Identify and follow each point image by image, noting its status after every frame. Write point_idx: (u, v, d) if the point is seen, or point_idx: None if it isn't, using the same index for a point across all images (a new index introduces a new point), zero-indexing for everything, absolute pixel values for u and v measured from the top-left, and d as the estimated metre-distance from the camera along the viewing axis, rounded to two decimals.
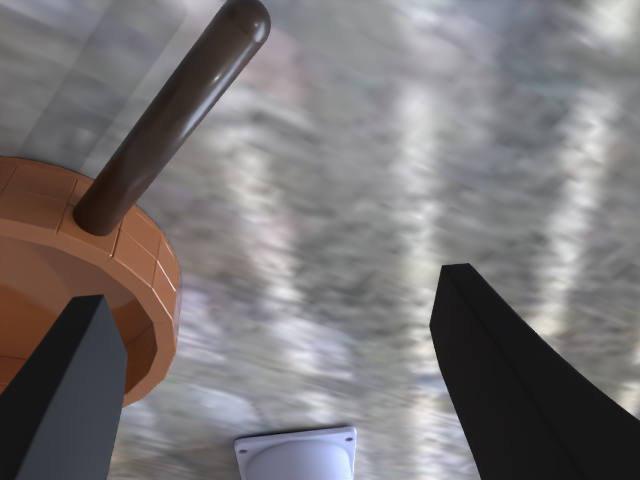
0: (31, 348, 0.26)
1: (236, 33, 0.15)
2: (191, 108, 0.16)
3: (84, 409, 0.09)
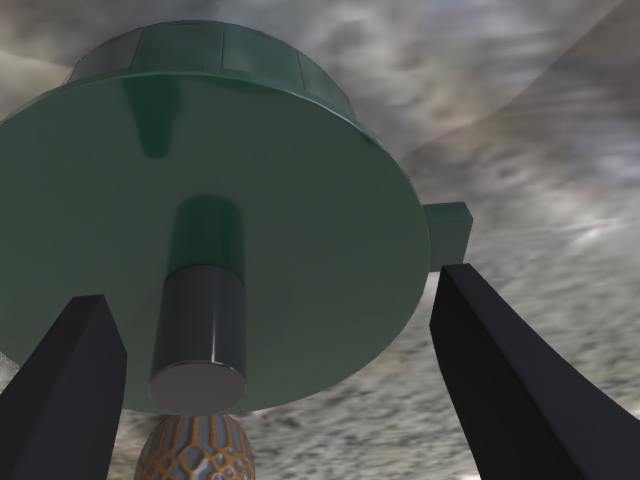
0: None
1: None
2: None
3: (84, 409, 0.09)
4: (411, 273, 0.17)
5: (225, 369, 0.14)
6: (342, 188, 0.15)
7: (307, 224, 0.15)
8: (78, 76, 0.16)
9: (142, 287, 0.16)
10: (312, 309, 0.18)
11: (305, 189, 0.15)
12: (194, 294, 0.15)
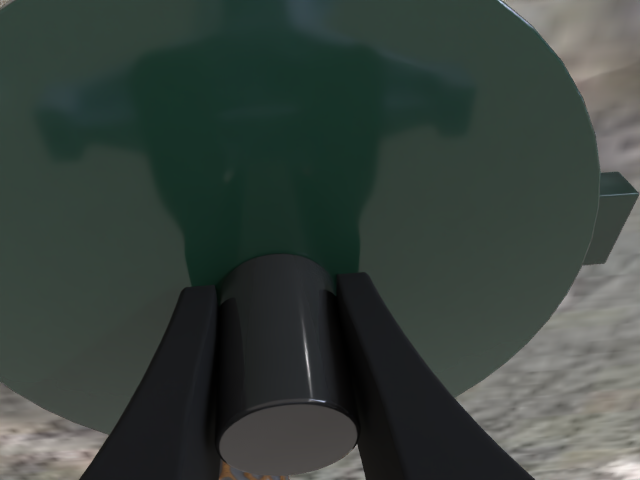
0: None
1: None
2: None
3: (209, 396, 0.10)
4: (559, 267, 0.13)
5: (337, 412, 0.09)
6: (497, 139, 0.10)
7: (437, 194, 0.11)
8: None
9: (192, 286, 0.12)
10: (418, 316, 0.13)
11: (445, 140, 0.10)
12: (276, 296, 0.10)
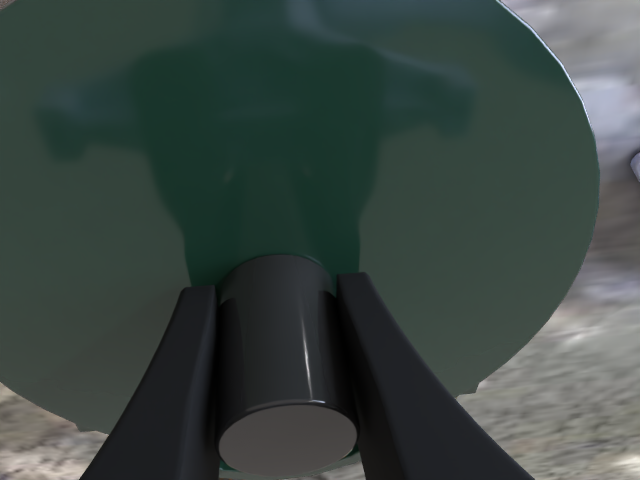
0: None
1: None
2: None
3: (209, 396, 0.10)
4: (559, 268, 0.13)
5: (336, 412, 0.09)
6: (497, 140, 0.10)
7: (437, 194, 0.11)
8: None
9: None
10: (417, 317, 0.13)
11: (444, 141, 0.10)
12: (275, 296, 0.10)
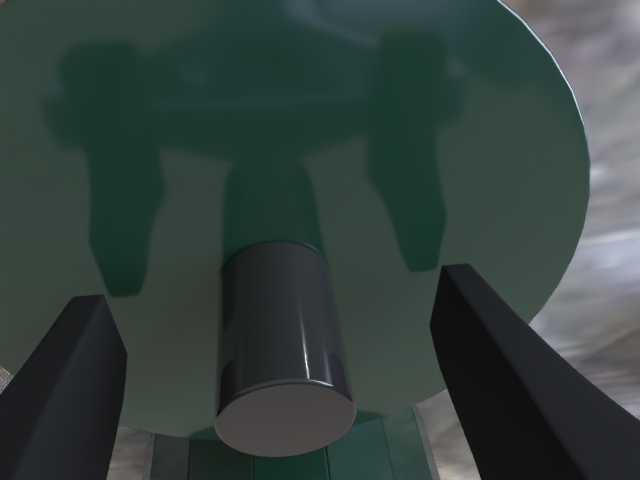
0: None
1: None
2: None
3: (84, 409, 0.09)
4: (551, 256, 0.13)
5: (333, 392, 0.09)
6: (489, 129, 0.10)
7: (430, 183, 0.11)
8: None
9: (192, 274, 0.12)
10: (413, 305, 0.13)
11: (438, 130, 0.10)
12: (273, 282, 0.11)
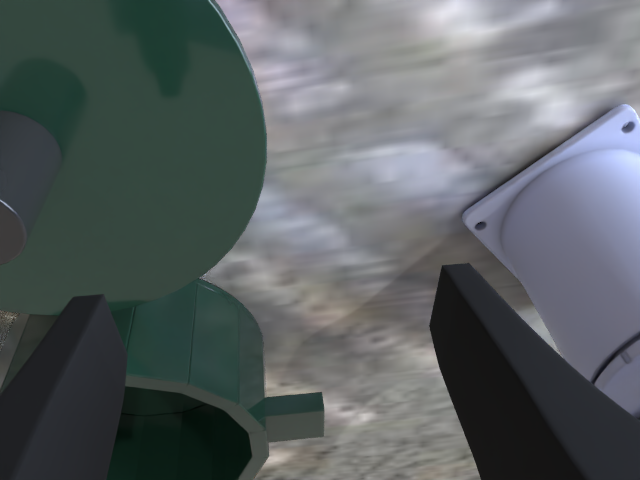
0: None
1: None
2: None
3: (84, 409, 0.09)
4: (246, 135, 0.16)
5: None
6: (138, 12, 0.13)
7: (110, 60, 0.14)
8: (33, 321, 0.23)
9: None
10: (144, 178, 0.16)
11: (95, 12, 0.13)
12: None
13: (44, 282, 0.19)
